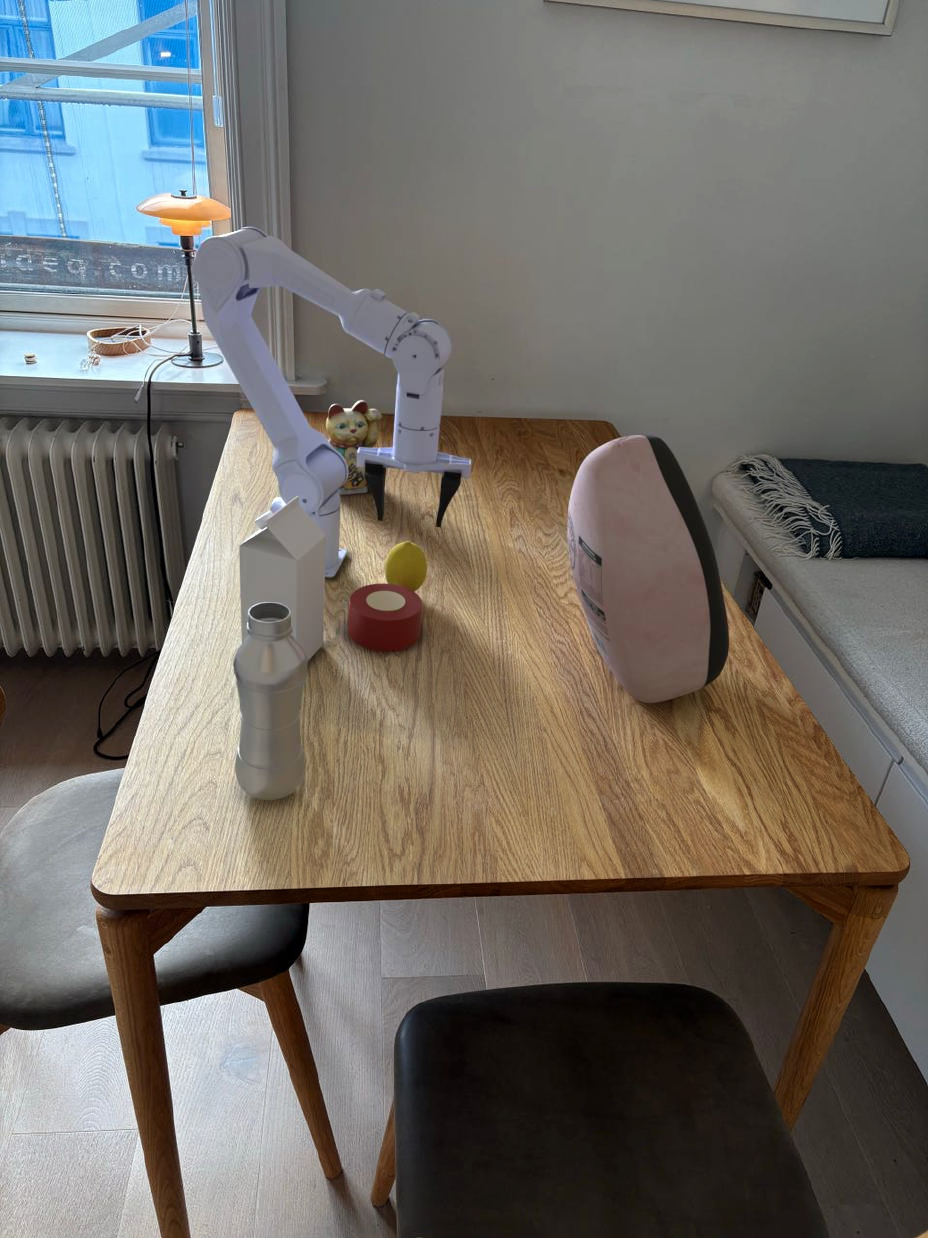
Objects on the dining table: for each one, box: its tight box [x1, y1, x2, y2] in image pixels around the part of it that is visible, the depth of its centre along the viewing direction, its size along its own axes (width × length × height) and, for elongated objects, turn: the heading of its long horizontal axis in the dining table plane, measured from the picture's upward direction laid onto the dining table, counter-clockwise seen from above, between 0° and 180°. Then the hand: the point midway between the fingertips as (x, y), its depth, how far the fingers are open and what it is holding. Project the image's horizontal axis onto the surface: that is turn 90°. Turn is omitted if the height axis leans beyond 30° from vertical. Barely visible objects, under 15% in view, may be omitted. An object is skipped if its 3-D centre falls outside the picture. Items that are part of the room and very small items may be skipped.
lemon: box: [384, 540, 428, 593], centre depth 126 cm, size 6×6×8 cm
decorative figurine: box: [325, 399, 383, 496], centre depth 152 cm, size 10×8×15 cm
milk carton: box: [238, 496, 326, 662], centre depth 108 cm, size 7×7×19 cm
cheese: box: [347, 582, 423, 653], centre depth 118 cm, size 9×9×5 cm
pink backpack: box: [566, 434, 730, 704], centre depth 109 cm, size 22×20×30 cm
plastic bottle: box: [232, 602, 309, 801], centre depth 88 cm, size 6×7×20 cm
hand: (409, 520), depth 126 cm, fingers open, 7 cm apart
